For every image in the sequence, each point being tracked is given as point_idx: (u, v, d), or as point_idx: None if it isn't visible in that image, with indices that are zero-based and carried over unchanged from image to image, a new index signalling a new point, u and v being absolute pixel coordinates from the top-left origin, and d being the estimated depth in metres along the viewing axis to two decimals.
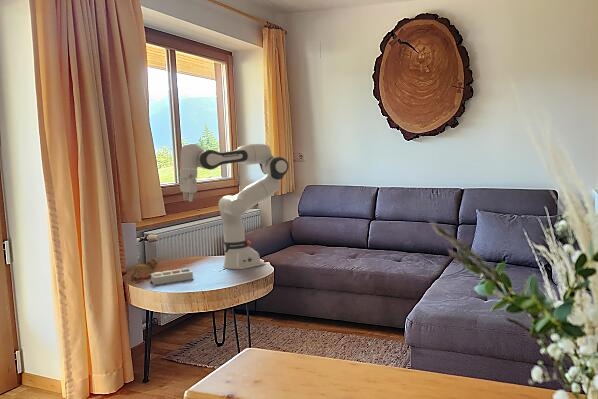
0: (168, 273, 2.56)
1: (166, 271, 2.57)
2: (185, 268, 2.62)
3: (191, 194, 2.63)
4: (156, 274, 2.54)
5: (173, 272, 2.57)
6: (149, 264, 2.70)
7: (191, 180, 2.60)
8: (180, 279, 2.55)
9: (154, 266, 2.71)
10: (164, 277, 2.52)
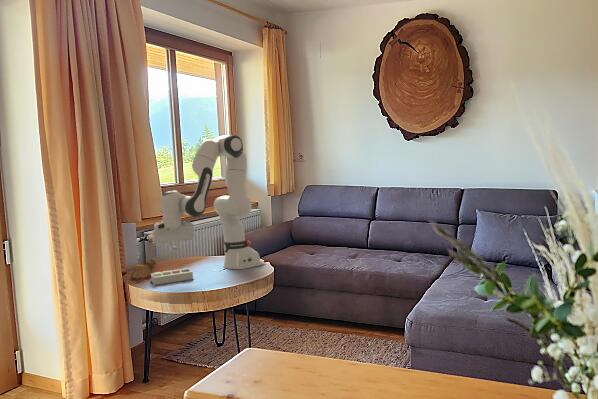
0: (168, 273, 2.56)
1: (166, 271, 2.57)
2: (185, 268, 2.62)
3: None
4: (156, 274, 2.54)
5: (173, 272, 2.57)
6: (148, 264, 2.70)
7: (191, 227, 2.60)
8: (180, 279, 2.55)
9: (153, 266, 2.70)
10: (164, 277, 2.52)
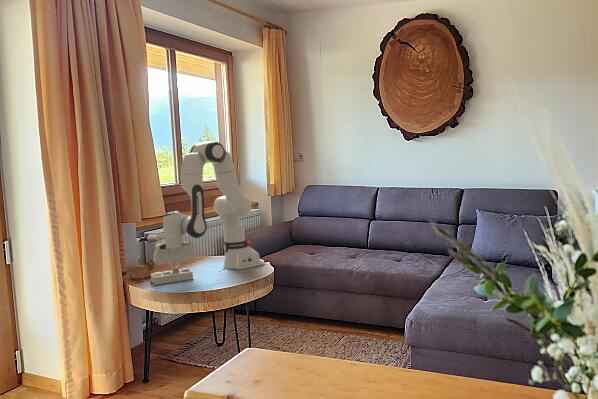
0: (168, 273, 2.56)
1: (166, 271, 2.57)
2: (185, 268, 2.62)
3: None
4: (156, 274, 2.54)
5: None
6: (147, 264, 2.70)
7: (192, 247, 2.60)
8: (180, 279, 2.55)
9: (152, 266, 2.70)
10: (164, 277, 2.52)
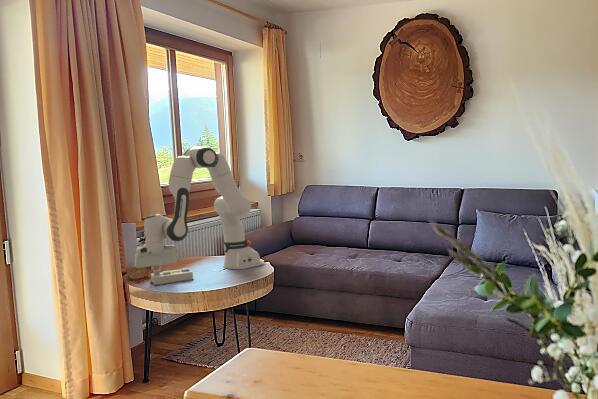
0: (168, 273, 2.56)
1: (166, 271, 2.57)
2: (185, 268, 2.62)
3: None
4: (156, 275, 2.54)
5: None
6: None
7: (174, 250, 2.57)
8: (180, 279, 2.55)
9: (150, 267, 2.70)
10: (164, 277, 2.52)
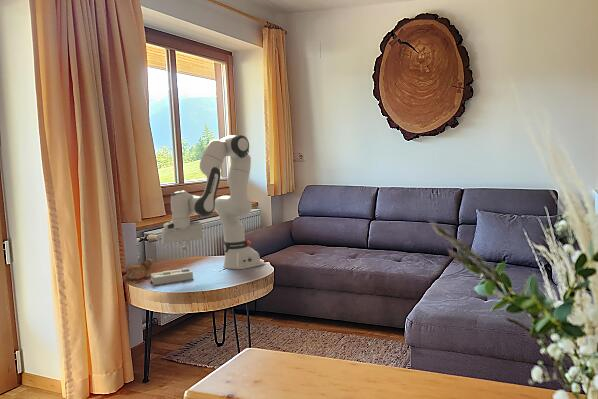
0: (168, 273, 2.56)
1: (166, 271, 2.57)
2: (185, 268, 2.62)
3: None
4: None
5: None
6: (144, 265, 2.69)
7: (200, 226, 2.62)
8: (180, 279, 2.55)
9: (149, 267, 2.69)
10: (164, 277, 2.52)
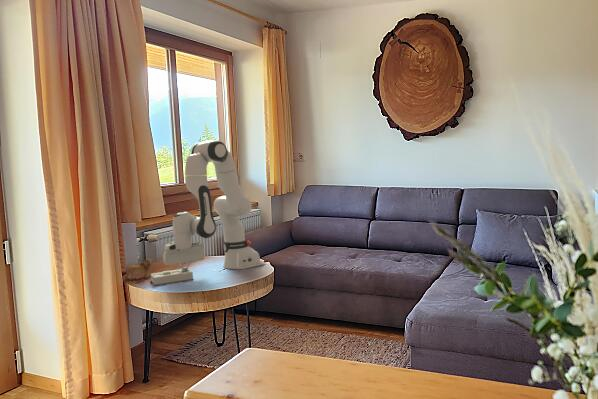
0: (168, 273, 2.56)
1: (166, 271, 2.57)
2: None
3: None
4: None
5: None
6: (143, 265, 2.68)
7: (201, 247, 2.62)
8: (180, 279, 2.55)
9: (148, 267, 2.69)
10: (164, 277, 2.52)
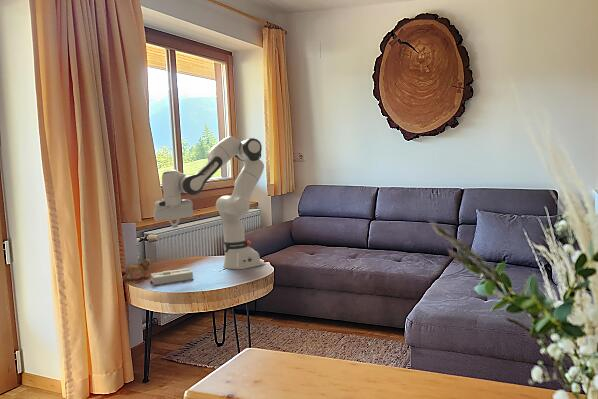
0: (168, 273, 2.56)
1: (166, 271, 2.57)
2: None
3: None
4: None
5: None
6: (142, 265, 2.68)
7: (190, 204, 2.70)
8: (180, 279, 2.55)
9: (147, 267, 2.69)
10: (164, 277, 2.52)
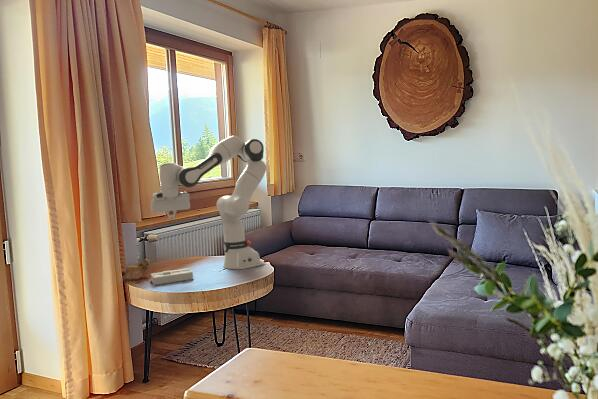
0: (168, 273, 2.56)
1: (166, 271, 2.57)
2: None
3: None
4: None
5: None
6: (141, 265, 2.68)
7: (188, 197, 2.73)
8: (180, 279, 2.55)
9: (146, 267, 2.69)
10: (164, 277, 2.52)
